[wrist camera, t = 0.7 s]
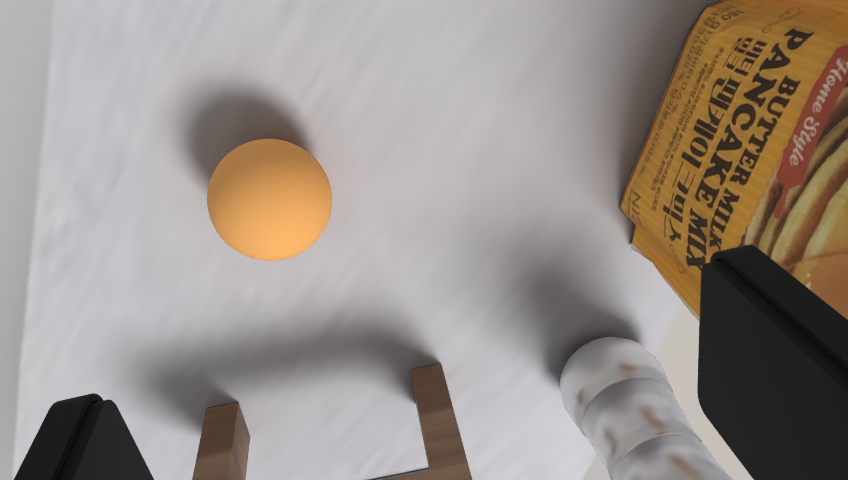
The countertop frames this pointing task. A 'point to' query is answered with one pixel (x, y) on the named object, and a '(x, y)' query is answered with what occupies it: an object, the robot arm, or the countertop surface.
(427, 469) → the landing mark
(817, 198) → the pancake mix bag
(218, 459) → the bridge
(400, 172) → the countertop surface
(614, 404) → the plastic bottle
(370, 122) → the countertop surface
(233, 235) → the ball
